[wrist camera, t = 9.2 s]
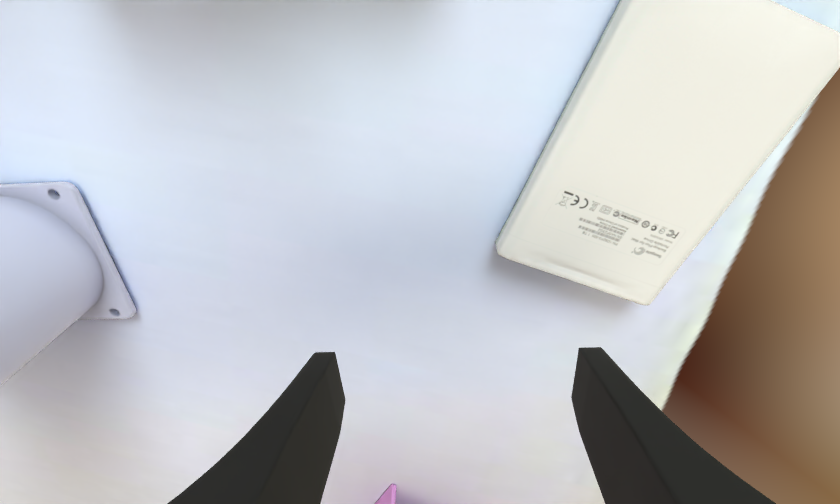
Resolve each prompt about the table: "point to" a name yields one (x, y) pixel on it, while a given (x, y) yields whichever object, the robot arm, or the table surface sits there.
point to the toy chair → (388, 496)
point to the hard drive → (664, 137)
